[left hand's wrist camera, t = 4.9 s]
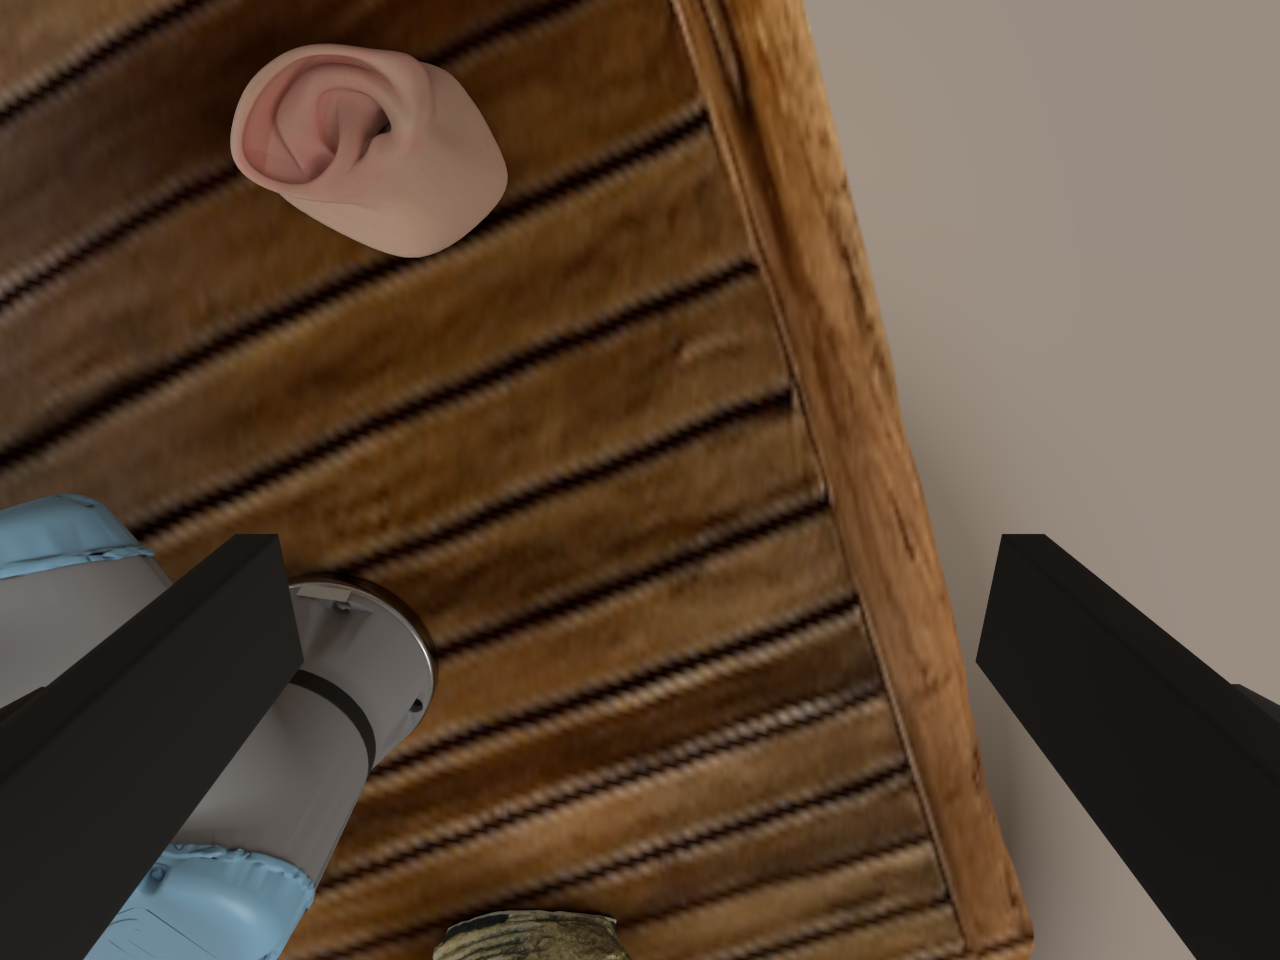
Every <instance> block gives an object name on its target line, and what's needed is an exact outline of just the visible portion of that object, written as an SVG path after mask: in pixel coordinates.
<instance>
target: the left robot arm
mask: <svg viewBox="0 0 1280 960" xmlns="http://www.w3.org/2000/svg"><path fill="white" fill-rule="evenodd" d="M154 555H155V553H154V552H153V551H152V550H151V549H150V548H148V547H146V546H142V545H141V544H140V543H139V542H138V541H137V539H136V538H135V537H134V536H133V535H132V534H131V533H130V532H129V531H128V529H127V528H126V527H125V526H124V525H123V524H122V523H121V522H120V521H119V519H118V518H117V517H116V516H115V515H114V514H113V513H112V512H111V511H110V509H109V508H108V507H106V506H105V505H104V504H103V503H101V502H100V501H98V500H96V499H94V498H91V497H89V496H85V495H81V494H56V495H51V496H46V497H43V498H39V499H36V500H32V501H29V502H25V503H22V504H19V505H16V506H12V507H9V508H6V509H3V510H0V960H277V958H278V957H279V955H280V954H281V952H282V950H283V949H284V947H285V945H286V943H287V941H288V940H289V938H290V936H291V934H292V933H293V931H294V929H295V927H296V926H297V924H298V922H299V920H300V919H301V917H302V915H303V914H304V913H305V912H306V911H307V910H308V909H309V907H310V905H311V904H312V902H313V899H314V895H315V894H316V893H315V890H316V888H317V886H318V884H319V882H320V880H321V877H322V875H323V873H324V871H325V869H326V867H327V864H328V862H329V860H330V858H331V856H332V854H333V851H334V849H335V847H336V845H337V843H338V841H339V838H340V836H341V834H342V832H343V830H344V828H345V825H346V823H347V821H348V819H349V817H350V815H351V812H352V810H353V808H354V806H355V804H356V802H357V799H358V797H359V795H360V793H361V791H362V789H363V786H364V784H365V782H366V780H367V778H368V776H369V774H370V772H371V770H372V768H373V767H375V766H376V765H377V764H378V763H379V762H380V761H381V760H382V759H383V758H384V757H385V756H386V755H387V754H388V753H389V752H391V751H392V750H393V749H394V748H395V747H396V746H397V745H398V744H399V743H400V742H401V741H402V740H403V739H404V738H405V737H407V736H408V735H409V734H410V733H411V732H412V731H413V730H414V729H415V728H416V727H417V725H418V724H419V723H420V721H421V720H422V718H423V717H424V715H425V713H426V711H427V709H428V707H429V704H430V702H431V699H432V697H433V695H434V692H435V689H436V686H437V681H438V658H437V653H436V649H435V646H434V644H433V641H432V639H431V637H430V635H429V633H428V631H427V629H426V628H425V626H424V624H423V623H422V622H421V620H420V619H419V618H418V617H417V615H416V614H415V613H414V612H413V611H412V610H411V609H410V608H409V607H408V606H407V605H406V604H404V603H403V602H402V601H401V600H399V599H398V598H397V597H395V596H394V595H392V594H391V593H389V592H388V591H386V590H384V589H382V588H380V587H378V586H376V585H374V584H372V583H369V582H367V581H364V580H361V579H358V578H354V577H350V576H346V575H339V574H329V573H314V574H305V575H300V576H295V577H292V578H288V579H287V576H286V571H285V566H284V561H283V556H282V552H281V547H280V542H279V537H278V534H235V535H234V536H233V537H231V538H230V539H229V540H228V541H226V542H225V543H224V544H223V545H221V546H220V547H219V548H218V549H217V550H215V551H214V552H213V553H212V554H210V555H209V556H208V557H207V558H205V559H204V560H203V561H202V562H200V563H199V564H198V565H197V566H195V567H194V568H193V569H192V570H190V571H189V572H188V573H187V574H185V575H184V576H183V577H182V578H180V579H179V580H178V581H177V582H175V583H173V582H172V580H171V579H170V578H169V576H168V575H167V574H166V573H165V571H164V570H163V569H162V568H161V566H160V565H159V564H158V563H157V561H156V560H155V559H154V557H153V556H154ZM976 663H977V664H978V665H979V667H980V668H981V670H982V671H983V672H984V674H985V675H986V676H987V678H988V679H989V680H990V682H991V683H992V684H993V686H994V687H995V688H996V690H997V691H998V692H999V694H1000V695H1001V697H1002V698H1003V699H1004V701H1005V702H1006V703H1007V705H1008V706H1009V707H1010V709H1011V710H1012V711H1013V713H1014V714H1015V715H1016V717H1017V718H1018V719H1019V721H1020V722H1021V723H1022V725H1023V726H1024V728H1025V729H1026V730H1027V731H1028V733H1029V734H1030V736H1031V737H1032V738H1033V740H1034V741H1035V742H1036V744H1037V745H1038V746H1039V748H1040V749H1041V750H1042V752H1043V753H1044V754H1045V756H1046V757H1047V759H1048V760H1049V761H1050V763H1051V764H1052V765H1053V767H1054V768H1055V769H1056V771H1057V772H1058V773H1059V775H1060V776H1061V777H1062V779H1063V780H1064V782H1065V783H1066V784H1067V786H1068V787H1069V788H1070V790H1071V791H1072V792H1073V794H1074V795H1075V796H1076V798H1077V799H1078V800H1079V802H1080V803H1081V804H1082V806H1083V807H1084V808H1085V810H1086V811H1087V813H1088V814H1089V815H1090V817H1091V818H1092V819H1093V821H1094V822H1095V823H1096V825H1097V826H1098V827H1099V829H1100V830H1101V831H1102V833H1103V834H1104V835H1105V837H1106V838H1107V839H1108V841H1109V842H1110V844H1111V845H1112V846H1113V848H1114V849H1115V850H1116V852H1117V853H1118V854H1119V856H1120V857H1121V858H1122V860H1123V861H1124V862H1125V864H1126V865H1127V866H1128V868H1129V869H1130V871H1131V872H1132V873H1133V874H1134V876H1135V877H1136V879H1137V880H1138V881H1139V883H1140V884H1141V885H1142V887H1143V888H1144V889H1145V891H1146V892H1147V893H1148V895H1149V896H1150V897H1151V899H1152V900H1153V902H1154V903H1155V904H1156V906H1157V907H1158V908H1159V910H1160V911H1161V912H1162V914H1163V915H1164V916H1165V918H1166V919H1167V920H1168V922H1169V923H1170V924H1171V926H1172V927H1173V929H1174V930H1175V931H1176V933H1177V934H1178V935H1179V937H1180V938H1181V939H1182V941H1183V942H1184V943H1185V945H1186V946H1187V947H1188V949H1189V950H1190V951H1191V953H1192V954H1193V956H1194V957H1195V958H1196V960H1280V705H1278V704H1276V703H1274V702H1272V701H1270V700H1268V699H1267V698H1265V697H1263V696H1261V695H1259V694H1257V693H1255V692H1253V691H1251V690H1250V689H1248V688H1246V687H1244V686H1242V685H1240V684H1230V683H1229V682H1228V681H1226V680H1225V679H1224V678H1223V677H1221V676H1220V675H1219V674H1218V673H1216V672H1215V671H1214V670H1213V669H1211V668H1210V667H1209V666H1208V665H1206V664H1205V663H1204V662H1203V661H1201V660H1200V659H1199V658H1198V657H1197V656H1195V655H1194V654H1193V653H1192V652H1190V651H1189V650H1188V649H1187V648H1185V647H1184V646H1183V645H1181V644H1180V643H1179V642H1178V641H1177V640H1175V639H1174V638H1173V637H1172V636H1170V635H1169V634H1168V633H1167V632H1165V631H1164V630H1163V629H1162V628H1160V627H1159V626H1158V625H1157V624H1155V623H1154V622H1153V621H1152V620H1151V619H1149V618H1148V617H1147V616H1145V615H1144V614H1143V613H1142V612H1141V611H1139V610H1138V609H1137V608H1136V607H1134V606H1133V605H1132V604H1131V603H1129V602H1128V601H1127V600H1126V599H1124V598H1123V597H1122V596H1121V595H1119V594H1118V593H1117V592H1116V591H1114V590H1113V589H1112V588H1111V587H1109V586H1108V585H1107V584H1106V583H1104V582H1103V581H1102V580H1101V579H1100V578H1098V577H1097V576H1096V575H1095V574H1093V573H1092V572H1091V571H1090V570H1088V569H1087V568H1086V567H1085V566H1083V565H1082V564H1081V563H1080V562H1078V561H1077V560H1076V559H1075V558H1073V557H1072V556H1071V555H1070V554H1068V553H1067V552H1066V551H1065V550H1063V549H1062V548H1061V547H1060V546H1058V545H1057V544H1056V543H1055V542H1053V541H1052V540H1051V539H1050V538H1048V537H1047V536H1046V535H1045V534H1002V537H1001V542H1000V547H999V552H998V556H997V561H996V566H995V571H994V576H993V580H992V585H991V590H990V595H989V600H988V605H987V609H986V614H985V619H984V624H983V628H982V633H981V638H980V643H979V648H978V652H977V657H976Z"/></svg>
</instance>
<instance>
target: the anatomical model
mask: <svg viewBox="0 0 1280 960" xmlns="http://www.w3.org/2000/svg"><path fill="white" fill-rule="evenodd" d="M231 152H232V156H233V159H234V161H235V163H236V165H237V167H238V168H239V170H240V171H241V172H242V173H243V174H244V175H245V176H246V177H248V178H249V179H250V180H252V181H253V182H255V183H257V184H258V185H260V186H262V187H264V188H266V189H269V190H272V191H274V192H277V193H279V194H280V195H281V196H282V197H283V198H285V199H286V200H287V201H288V202H290V203H291V204H292V205H294V206H295V207H296V208H298V209H299V210H301V211H303V212H304V213H306V214H307V215H309V216H311V217H312V218H314V219H316V220H317V221H319V222H321V223H323V224H324V225H326V226H328V227H330V228H332V229H334V230H336V231H338V232H340V233H342V234H344V235H346V236H348V237H350V238H352V239H354V240H356V241H358V242H360V243H362V244H365V245H367V246H369V247H372V248H374V249H377V250H380V251H382V252H385V253H388V254H392V255H396V256H401V257H422V256H427V255H431V254H434V253H436V252H439V251H441V250H443V249H445V248H447V247H448V246H450V245H452V244H453V243H455V242H456V241H458V240H459V239H461V238H462V237H464V236H465V235H466V234H467V233H468V232H470V231H471V230H472V229H473V228H474V227H476V226H477V225H478V224H479V223H480V222H481V221H482V220H483V219H484V218H485V217H486V216H487V215H488V214H489V213H490V212H491V211H492V209H493V208H494V207H495V206H496V205H497V203H498V202H499V200H500V199H501V198H502V196H503V194H504V192H505V189H506V186H507V180H508V174H507V168H506V165H505V161H504V159H503V156H502V154H501V151H500V149H499V147H498V145H497V143H496V141H495V139H494V137H493V135H492V133H491V131H490V129H489V127H488V125H487V123H486V121H485V120H484V118H483V116H482V114H481V113H480V111H479V109H478V108H477V106H476V105H475V104H474V102H473V101H472V99H471V98H470V97H469V95H468V94H467V92H466V91H465V90H464V88H463V87H462V86H461V84H460V83H459V82H458V81H457V80H456V79H455V78H454V77H453V76H452V75H451V74H449V73H448V72H447V71H445V70H443V69H441V68H439V67H437V66H434V65H431V64H427V63H424V62H419V61H418V60H416V59H415V58H414V57H412V56H410V55H408V54H406V53H402V52H396V51H388V50H379V49H370V48H363V47H356V46H349V45H340V44H313V45H307V46H302V47H298V48H295V49H292V50H290V51H288V52H286V53H284V54H282V55H280V56H278V57H277V58H275V59H274V60H272V61H271V62H270V63H268V64H267V65H266V66H265V67H264V68H262V69H261V70H260V71H259V72H258V73H257V74H256V75H255V76H254V77H253V79H252V80H251V81H250V82H249V84H248V85H247V87H246V89H245V90H244V92H243V94H242V96H241V99H240V101H239V103H238V106H237V109H236V112H235V115H234V119H233V124H232V129H231Z"/></svg>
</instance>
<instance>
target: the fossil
mask: <svg viewBox="0 0 1280 960" xmlns="http://www.w3.org/2000/svg"><path fill="white" fill-rule="evenodd" d="M615 927H616V920H615V919H612V918H608V917H605V916H601V915H589V914H582V913H570V912H563V911H557V912H548V911H542V910H519V911H502V912H494V913H489V914H486V915H483V916H479V917H475V918H473V919H471V920H469V921H463V922H460V923H458V924H456V925H454V926H452V927H450V928H448V931H447V933H446V936H445V937H444V938H443V939H442V941H441V942H440V943H439V944H438V945H437V946H436V947H435V949H434V953H433V956H432V957H433V960H632V959H631V958H630V957H629V955H628V954H627V953H626V950H625V948H623V947H622V946H621V945H620V944H619V943H618V942H617V934H616V930H615Z"/></svg>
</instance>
